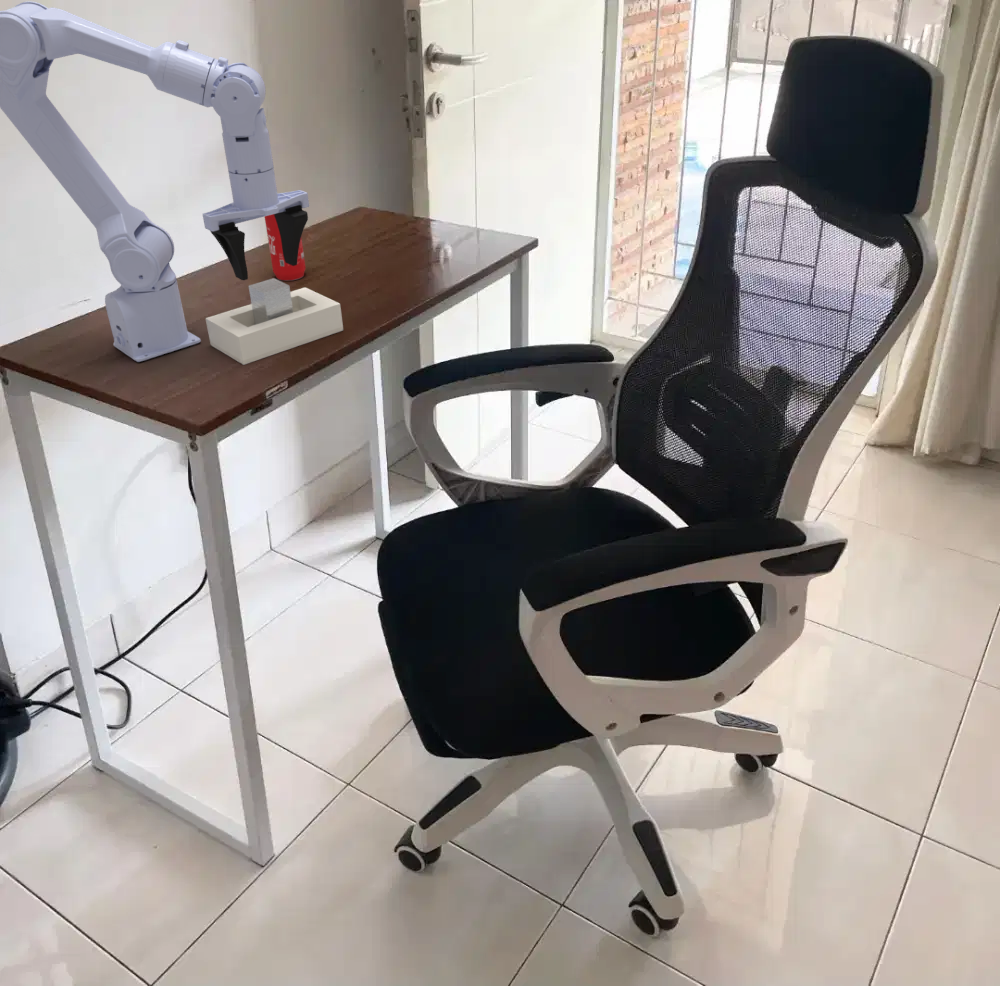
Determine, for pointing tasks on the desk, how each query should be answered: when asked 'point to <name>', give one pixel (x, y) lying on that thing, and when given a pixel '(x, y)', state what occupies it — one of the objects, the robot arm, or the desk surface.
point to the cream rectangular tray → (274, 327)
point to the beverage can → (276, 252)
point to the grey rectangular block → (270, 300)
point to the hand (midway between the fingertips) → (266, 270)
